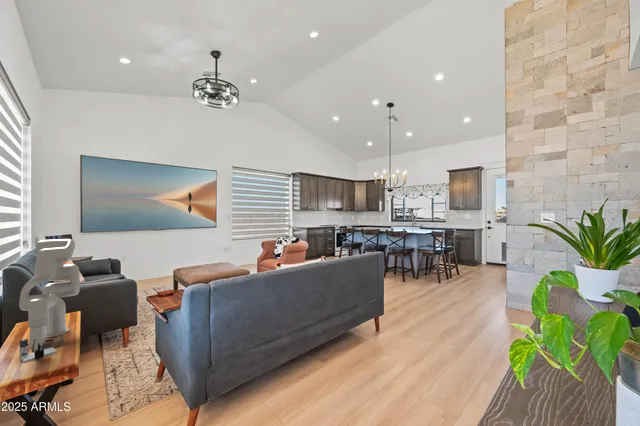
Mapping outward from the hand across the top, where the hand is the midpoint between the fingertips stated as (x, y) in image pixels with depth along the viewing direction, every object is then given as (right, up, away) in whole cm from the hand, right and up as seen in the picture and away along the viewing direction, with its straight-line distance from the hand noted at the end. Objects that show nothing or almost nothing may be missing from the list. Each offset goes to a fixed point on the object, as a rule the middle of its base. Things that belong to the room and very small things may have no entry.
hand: (39, 357), depth 146 cm
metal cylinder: (-12, -1, +4) cm, 12 cm away
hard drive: (-4, -1, +4) cm, 6 cm away
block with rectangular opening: (-9, -1, +14) cm, 17 cm away
